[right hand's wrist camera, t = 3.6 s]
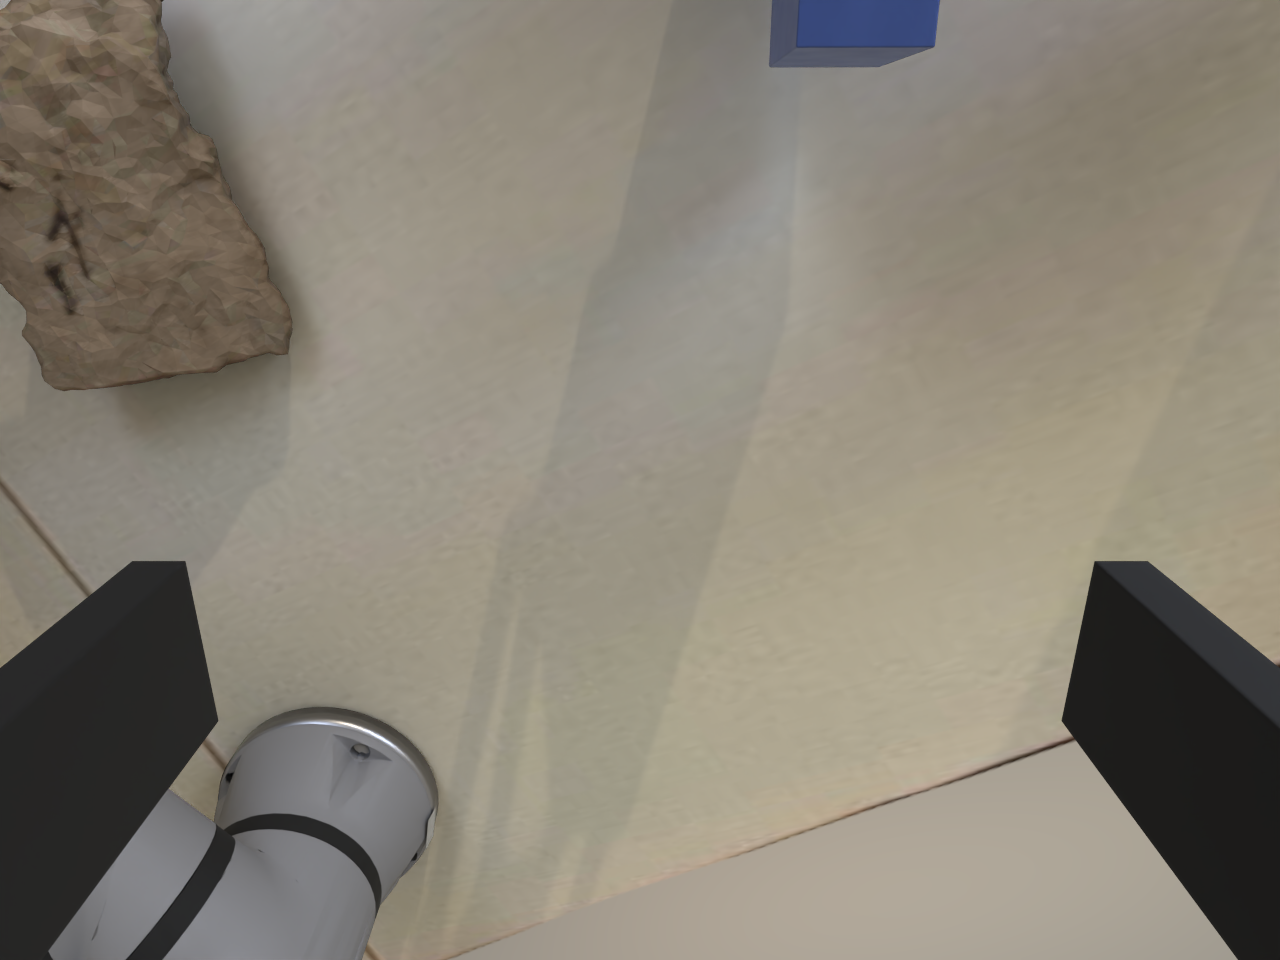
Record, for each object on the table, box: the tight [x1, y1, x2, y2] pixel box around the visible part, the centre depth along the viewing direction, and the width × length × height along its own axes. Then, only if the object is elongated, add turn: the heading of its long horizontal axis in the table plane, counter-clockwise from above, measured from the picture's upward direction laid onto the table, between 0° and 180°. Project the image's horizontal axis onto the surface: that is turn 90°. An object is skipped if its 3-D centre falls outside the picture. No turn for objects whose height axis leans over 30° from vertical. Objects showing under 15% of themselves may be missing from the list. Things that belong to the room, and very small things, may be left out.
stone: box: [0, 0, 292, 391], centre depth 47 cm, size 21×15×6 cm
